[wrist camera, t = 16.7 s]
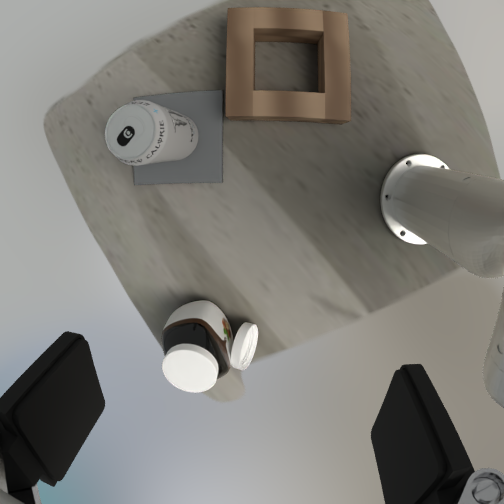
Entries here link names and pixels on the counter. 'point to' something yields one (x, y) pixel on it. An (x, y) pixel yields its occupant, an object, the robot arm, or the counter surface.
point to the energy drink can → (149, 134)
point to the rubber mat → (208, 147)
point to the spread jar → (204, 346)
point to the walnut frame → (297, 31)
